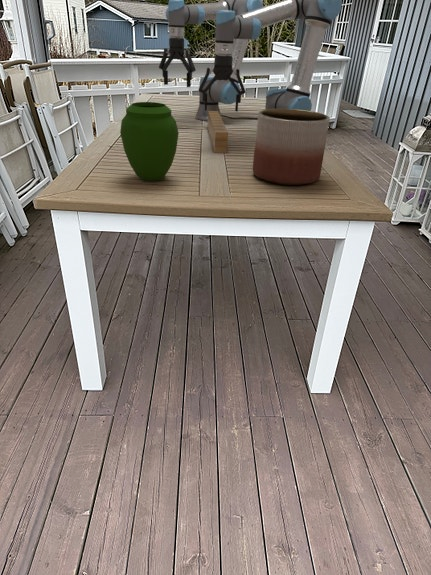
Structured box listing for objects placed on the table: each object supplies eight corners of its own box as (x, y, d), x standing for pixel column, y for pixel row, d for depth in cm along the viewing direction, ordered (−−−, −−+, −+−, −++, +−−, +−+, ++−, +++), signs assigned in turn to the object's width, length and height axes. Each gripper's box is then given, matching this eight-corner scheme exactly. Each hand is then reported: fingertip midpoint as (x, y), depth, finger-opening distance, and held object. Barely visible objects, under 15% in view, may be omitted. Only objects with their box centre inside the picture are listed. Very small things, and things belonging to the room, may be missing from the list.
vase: (131, 189, 135) (125, 110, 122) (118, 172, 150) (112, 100, 137) (186, 184, 142) (187, 109, 129) (169, 168, 157) (167, 99, 144)
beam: (207, 127, 228) (208, 110, 223) (217, 128, 228) (218, 111, 223) (214, 152, 182) (215, 132, 177) (226, 152, 182) (228, 132, 178)
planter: (329, 187, 147) (342, 121, 135) (261, 187, 143) (268, 120, 131) (305, 166, 168) (314, 109, 156) (245, 167, 164) (250, 107, 152)
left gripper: (150, 36, 201) (152, 84, 213) (195, 38, 192) (194, 88, 204) (159, 36, 207) (160, 83, 218) (202, 38, 198) (201, 87, 209)
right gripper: (193, 54, 165) (193, 110, 176) (254, 57, 167) (250, 112, 178) (193, 53, 171) (192, 107, 182) (252, 56, 173) (247, 109, 184)
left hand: (177, 85), depth 211 cm, fingers open, 13 cm apart
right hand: (221, 110), depth 180 cm, fingers open, 13 cm apart
